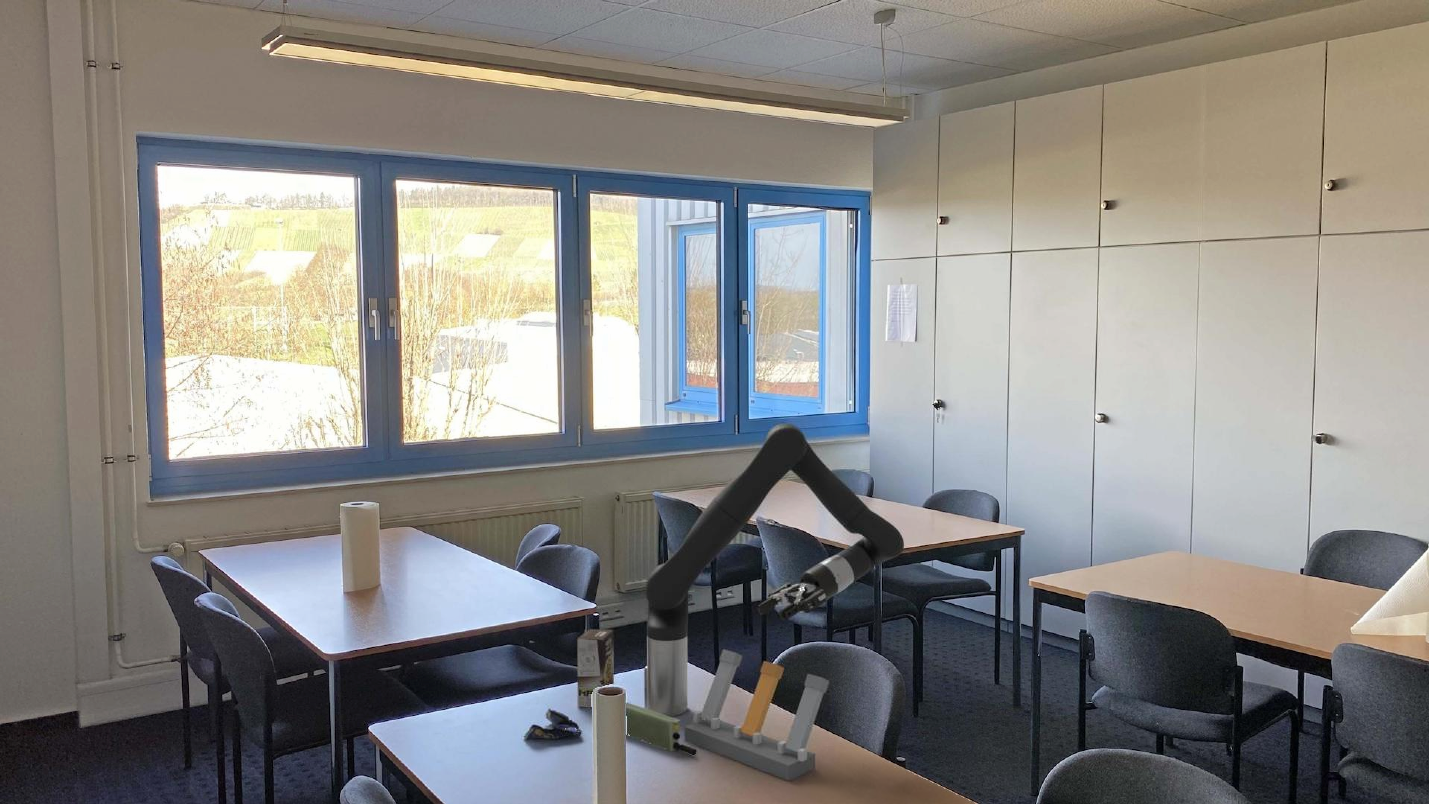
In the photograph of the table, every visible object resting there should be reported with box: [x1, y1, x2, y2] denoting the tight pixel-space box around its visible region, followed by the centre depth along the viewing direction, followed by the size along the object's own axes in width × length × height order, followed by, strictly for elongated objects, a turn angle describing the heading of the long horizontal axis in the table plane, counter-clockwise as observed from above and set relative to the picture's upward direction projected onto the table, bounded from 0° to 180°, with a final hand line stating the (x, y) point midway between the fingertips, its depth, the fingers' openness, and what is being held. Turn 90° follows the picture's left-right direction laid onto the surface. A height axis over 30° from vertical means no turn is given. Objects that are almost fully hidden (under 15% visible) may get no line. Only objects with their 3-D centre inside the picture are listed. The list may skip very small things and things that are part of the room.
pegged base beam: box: [684, 710, 816, 782], centre depth 215 cm, size 30×8×5 cm, turn 45°
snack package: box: [523, 708, 583, 740], centre depth 226 cm, size 12×6×12 cm
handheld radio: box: [626, 702, 698, 756], centre depth 222 cm, size 7×3×25 cm
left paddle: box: [700, 648, 743, 721], centre depth 226 cm, size 4×2×15 cm, turn 45°
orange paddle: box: [741, 660, 785, 736], centre depth 218 cm, size 4×2×15 cm, turn 45°
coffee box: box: [576, 628, 615, 709], centre depth 247 cm, size 9×6×16 cm
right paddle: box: [785, 673, 830, 753], centre depth 209 cm, size 4×2×15 cm, turn 45°
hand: (770, 613), depth 222 cm, fingers open, 8 cm apart
